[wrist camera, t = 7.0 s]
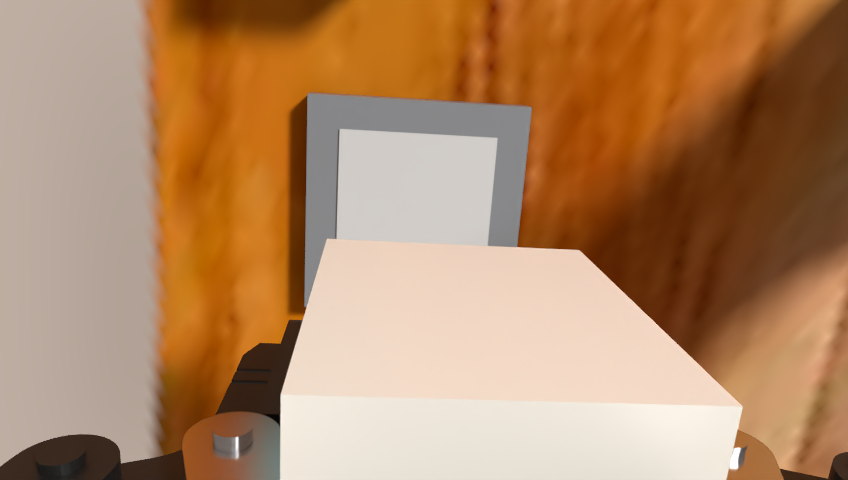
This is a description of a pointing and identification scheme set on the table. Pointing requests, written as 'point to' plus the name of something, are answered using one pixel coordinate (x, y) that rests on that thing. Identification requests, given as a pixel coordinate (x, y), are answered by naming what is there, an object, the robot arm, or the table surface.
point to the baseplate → (412, 172)
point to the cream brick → (491, 373)
